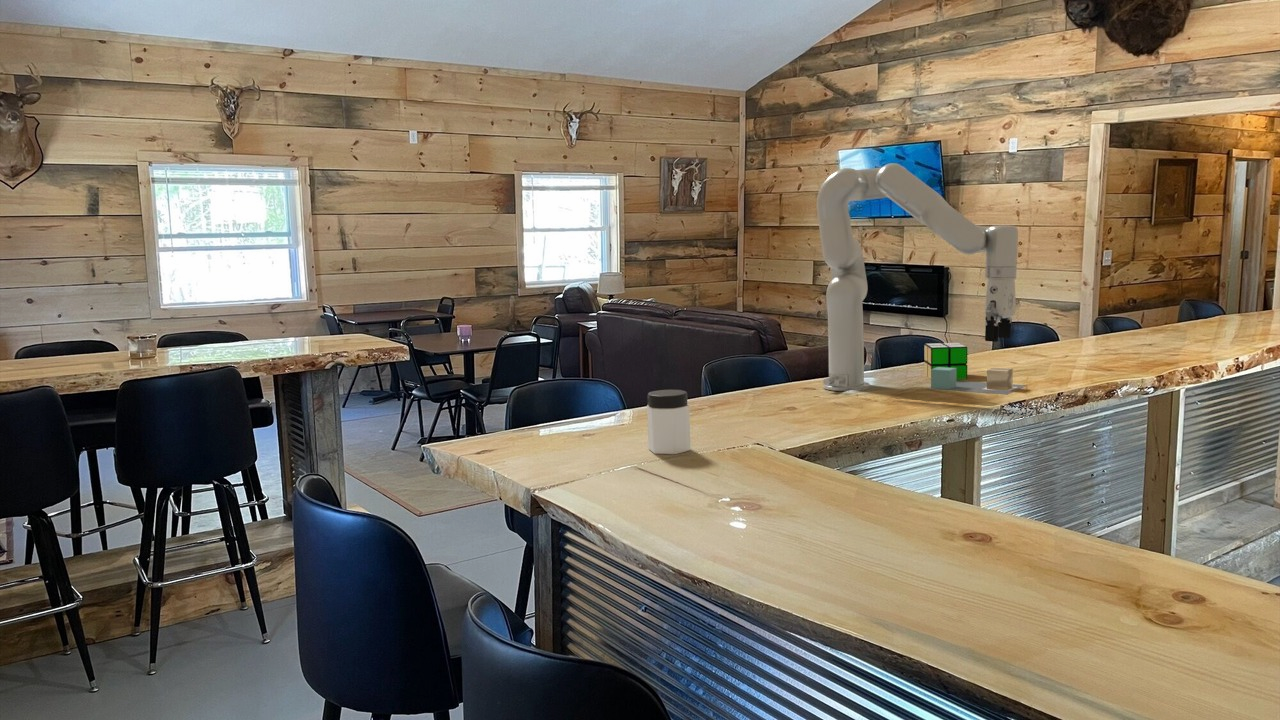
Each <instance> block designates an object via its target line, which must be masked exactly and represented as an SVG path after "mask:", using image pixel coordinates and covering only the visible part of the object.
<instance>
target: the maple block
mask: <svg viewBox="0 0 1280 720" xmlns="http://www.w3.org/2000/svg"><path fill="white" fill-rule="evenodd" d="M1013 371H1014V368H1010V367H1009V368H1008V367H991V368H989V369H987V370H986V383H987V389H995V390H1008V389H1010V388H1012V386H1013V377H1014V376H1013V375H1014V374H1013Z"/></svg>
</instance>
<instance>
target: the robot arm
mask: <svg viewBox="0 0 1280 720" xmlns="http://www.w3.org/2000/svg"><path fill="white" fill-rule="evenodd" d="M817 193H818V194H817V199H816V213H817V219H818V227H819V235H820V243H821V249H822V257H823V261H824V262H825V264H826V265H827V266H828V267H829V268H830V273H831V278H832V279H831V281H830V282H829V283H828V286H827V289H826V291H825V292H826V293H825V294H826V295H825V296H826V297H825V298H826V299H825V300H826V301H825V302H826V312H827V331H828V335H827V336H828V340H827V341H828V378H824V379H823V381H822V382H823V388H824V389H825V390H828V391H832V392H833V391H834V392H835V391H836V392H837V391H838V392H849V391H852V390H856V389H857V390H859V389H865V388H868V387H870V385H871V384H870V382H866V381H865V361H864V360H865V358H864V357H865V356H864V355H865V354H864V353H865V352H864V351H865V346H864V345H865V344H864V342H865V341H864V310H863V302H864V300H865V298H867V295H868V290H869V289H868V280H867V273H866V267H865V261H864V255H863V249H862V246H861V243H860V242H859V241H858V239H857V238H855V237H854V235H853V229H852V224H851V222H852V221H851V215H850V213H849V211H850V210H849V203H850V202H856V201H867V200H875V199H877V200H878V199H885V198H888V199H889V200H890V201H892V203H895V204H896V205H897V206H898V207H900V208H902V210H904V211H905V212H906V213H908V214H909V215H910V216H912V217H913V218H914V219H915V220H917V221H918V222H919V223H920V224H922V225H924V226H926V227H927V228H928V229H930V230H931V231H932V232H933V233H935V234H936V235H938V236H939V237H940V238H941V239H942V240H944V241H945V242H947V243H948V244H949V245H951V246H952V248H955V249H956V251H958V252H959V253H962V254H964V255H974V254H979V253H985V270H984V271H985V273H984V275H985V276H984V280H987V283H986V285H987V286H986V291H985V293H986V294H985V302H984V303H985V305H984V306H985V307H984V309H985V310H984V311H985V313H984V314H985V323H984V325H985V330H984V331H985V333H984V340H985V342H993V343H995V342H999V338H1000V339H1002V338H1003V339H1010V338H1011V337H1012V320H1013V319H1012V317H1014V316H1015V315H1016V282H1015V280H1017V272H1018V270H1017V269H1018V268H1017V267H1018V264H1017V263H1018V247H1019V229H1018V227H1017V226H1015V225H1009V224H1007V225H1005V224H1004V225H1001V224H1000V225H991V226H984V225H983V226H982V225H976V224H975V223H973V222H972V221H971V220H969V219H968V218H967V217H965V216H964V215H963V214H961V213H960V212H959V211H958V210H956V209H955V208H954V207H953V206H951V205H950V204H949V203H948V202H947V201H946V199H945V198H944V197H943V196H942V195H941V194H940V193H938V192H937V191H936V190H934V189H933V188H932V187H930V186H929V185H928V184H926V183H925V182H923V181H922V180H921V179H920V178H919V177H917V176H916V175H914V173H911V172H910V170H908V169H907V168H906V167H905V166H902V165H901V164H899V163H893V162H892V163H891V162H890V163H887V164H885V165H884V166H882V167H876V168H875V167H874V168H865V169H864V168H863V169H854V168H851V167H845V168H842V169H841V168H840V169H838V170H837V171H835V172H833V173H831V174H830V175H829V176H828V177H827V178H826V179H825V180H824V182H822V185H821V187H820V188H819V190H818V192H817Z"/></svg>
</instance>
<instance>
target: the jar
mask: <svg viewBox="0 0 1280 720" xmlns="http://www.w3.org/2000/svg"><path fill="white" fill-rule="evenodd" d="M688 403H689V402H688V392H687V391H685V390H681V389H661V390H654V391H649V392H648V393H647V405H646V413H647V414H646V417H647V435H648V436H647V441H648V442H647V443H648V444H647V446H648V450H650V452H651V453H653V454H655V455H679V454H681V453H682V454H683V453H685V452H690V451H691V447H692V446H691V425H690V423H691V422H690V421H691V420H690V418H691V417H690V405H688Z"/></svg>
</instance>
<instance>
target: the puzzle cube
mask: <svg viewBox="0 0 1280 720" xmlns="http://www.w3.org/2000/svg"><path fill="white" fill-rule="evenodd" d="M923 351H924V352H923V353H924V355H923V357H924V362H923V363H924V364H923V365H924V366H923V367H924V369H923V370H924V371H923V373H924V374H923V375H924V376H926V377H927V378H929V380H931V369H934V368H937V367H946V368H956V380H966V379H968V346H966V345H964V344H962V343H960V342H944V343H940V342H939V343H936V342H935V343H924V348H923Z"/></svg>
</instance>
